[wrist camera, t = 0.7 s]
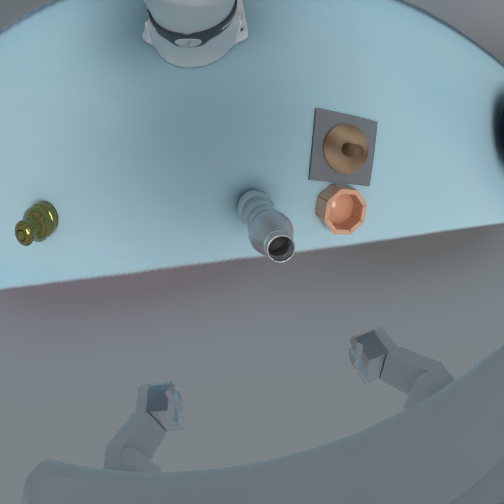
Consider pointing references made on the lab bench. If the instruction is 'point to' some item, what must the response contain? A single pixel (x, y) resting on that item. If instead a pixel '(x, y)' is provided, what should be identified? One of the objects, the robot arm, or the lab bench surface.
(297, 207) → the lab bench surface
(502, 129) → the globe
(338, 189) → the bowl
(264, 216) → the plastic bottle
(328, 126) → the mat
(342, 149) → the lid
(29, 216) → the gold chess piece
